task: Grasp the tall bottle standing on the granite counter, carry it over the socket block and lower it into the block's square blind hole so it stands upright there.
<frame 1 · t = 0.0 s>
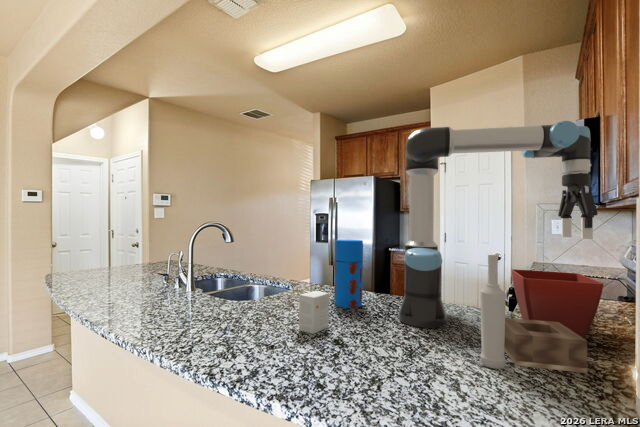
hand: (576, 237, 110), 28 cm above the countertop, fingers open, 13 cm apart
thermos: (348, 305, 129), on the countertop
bottle: (492, 365, 76), on the countertop
small box: (313, 329, 99), on the countertop
plant pot: (552, 331, 101), on the countertop
socket block: (538, 356, 81), on the countertop
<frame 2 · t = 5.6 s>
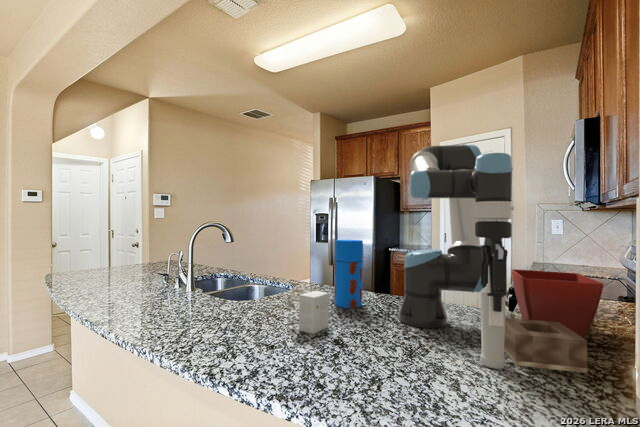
hand: (492, 321, 76), 10 cm above the countertop, fingers closed on bottle, 5 cm apart
bottle: (492, 365, 76), on the countertop, touching gripper
everything else where it was.
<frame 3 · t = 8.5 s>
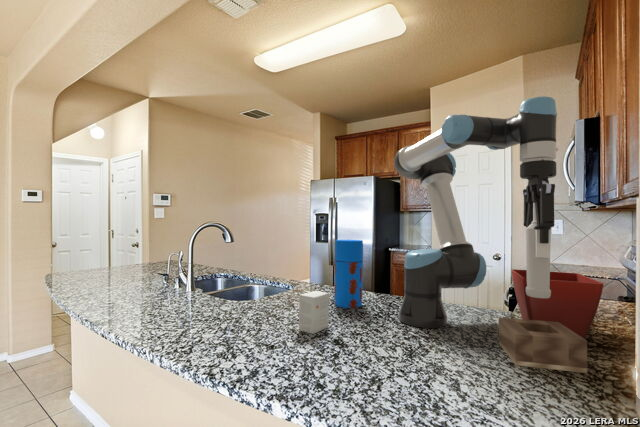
hand: (537, 255, 81), 25 cm above the countertop, fingers closed on bottle, 5 cm apart
bottle: (538, 296, 81), point 15 cm above the countertop, touching gripper
everything else where it was.
when the fingers open (12 cm above the countertop, at t = 11.7 s): bottle drops 1 cm, resting on socket block.
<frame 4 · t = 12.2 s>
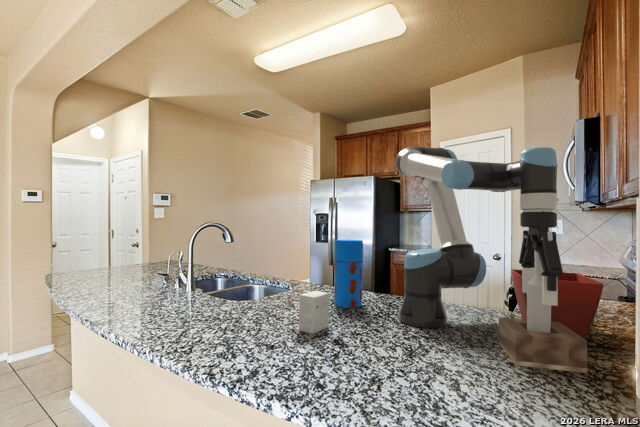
hand: (538, 298, 81), 14 cm above the countertop, fingers open, 13 cm apart
bottle: (538, 353, 81), point 1 cm above the countertop, touching socket block
everything else where it was.
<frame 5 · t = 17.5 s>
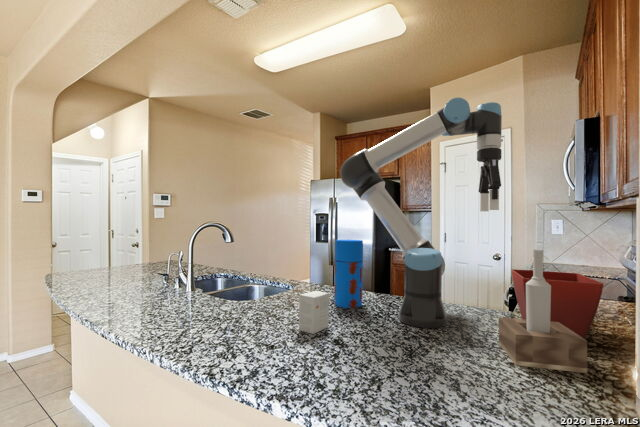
hand: (488, 210, 113), 37 cm above the countertop, fingers open, 13 cm apart
nothing on the countertop moved.
at the end: bottle 0.1 cm off-centre on the socket block, point 0.8 cm above the socket block's base; bottle tilted 0°; the gripper is holding nothing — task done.
